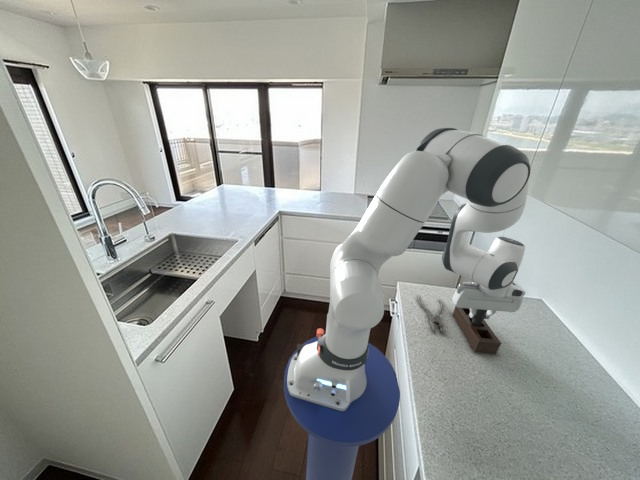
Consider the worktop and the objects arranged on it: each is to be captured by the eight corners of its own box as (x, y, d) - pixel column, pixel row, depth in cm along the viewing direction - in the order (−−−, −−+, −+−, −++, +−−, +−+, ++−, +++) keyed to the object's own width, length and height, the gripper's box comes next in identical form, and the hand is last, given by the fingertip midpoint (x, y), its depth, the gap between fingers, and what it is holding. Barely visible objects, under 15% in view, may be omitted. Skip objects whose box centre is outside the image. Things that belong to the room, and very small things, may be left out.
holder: (474, 352, 83) (479, 341, 81) (452, 314, 99) (456, 304, 97) (495, 354, 83) (501, 343, 81) (470, 316, 99) (474, 306, 97)
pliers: (439, 296, 107) (461, 332, 89) (438, 298, 108) (461, 334, 90) (416, 295, 107) (434, 330, 89) (415, 296, 108) (433, 332, 90)
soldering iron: (471, 332, 89) (485, 298, 82) (467, 326, 92) (480, 292, 85) (480, 333, 89) (495, 298, 82) (475, 326, 91) (490, 293, 85)
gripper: (464, 287, 79) (451, 321, 85) (531, 293, 79) (514, 326, 85) (455, 276, 85) (444, 308, 91) (518, 281, 84) (503, 313, 90)
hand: (478, 317), depth 88 cm, fingers closed on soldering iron, 3 cm apart
